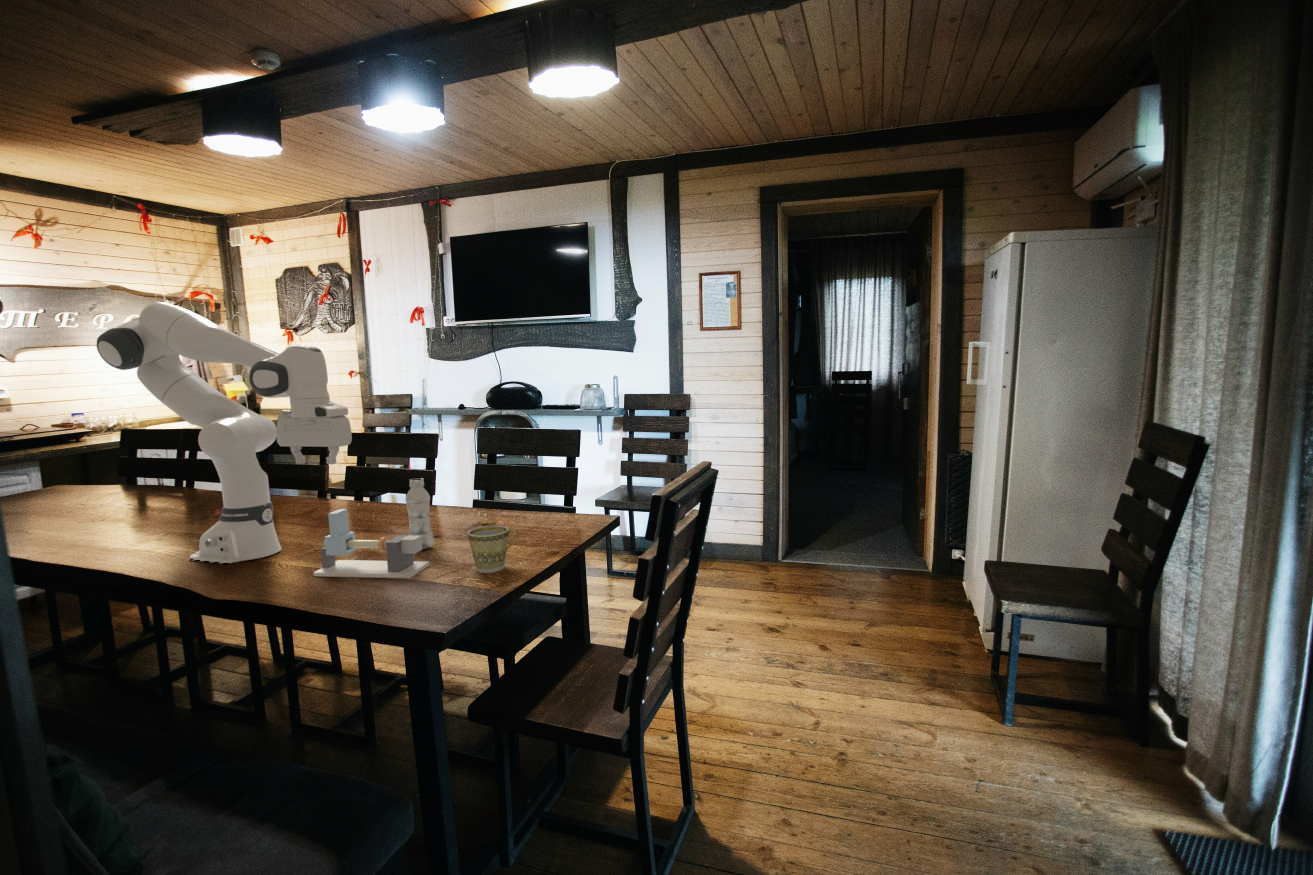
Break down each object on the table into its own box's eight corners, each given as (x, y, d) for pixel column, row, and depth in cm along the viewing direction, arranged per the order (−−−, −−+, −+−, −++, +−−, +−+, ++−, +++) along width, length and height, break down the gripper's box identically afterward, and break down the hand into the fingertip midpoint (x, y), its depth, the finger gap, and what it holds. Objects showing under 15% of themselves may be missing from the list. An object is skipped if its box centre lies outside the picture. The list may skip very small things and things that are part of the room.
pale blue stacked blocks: (326, 555, 162) (322, 513, 160) (338, 549, 166) (334, 508, 165) (344, 555, 161) (341, 513, 160) (356, 549, 166) (352, 509, 165)
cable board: (313, 576, 160) (310, 541, 159) (338, 563, 170) (335, 531, 169) (410, 578, 157) (407, 543, 156) (429, 565, 166) (427, 532, 165)
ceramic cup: (476, 578, 155) (474, 538, 154) (465, 567, 164) (462, 529, 163) (527, 568, 162) (525, 529, 161) (514, 558, 171) (512, 521, 169)
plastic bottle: (426, 552, 178) (421, 481, 175) (404, 551, 179) (398, 481, 177) (438, 546, 184) (433, 477, 182) (417, 545, 185) (412, 477, 183)
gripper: (267, 411, 161) (272, 465, 163) (334, 410, 156) (340, 466, 158) (287, 409, 167) (292, 461, 169) (353, 408, 162) (358, 462, 164)
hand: (316, 463), depth 163 cm, fingers open, 8 cm apart
